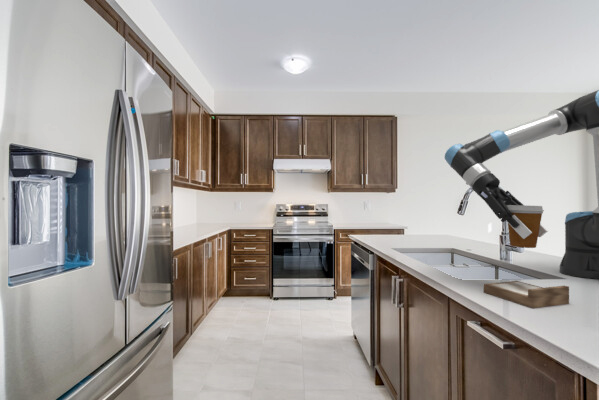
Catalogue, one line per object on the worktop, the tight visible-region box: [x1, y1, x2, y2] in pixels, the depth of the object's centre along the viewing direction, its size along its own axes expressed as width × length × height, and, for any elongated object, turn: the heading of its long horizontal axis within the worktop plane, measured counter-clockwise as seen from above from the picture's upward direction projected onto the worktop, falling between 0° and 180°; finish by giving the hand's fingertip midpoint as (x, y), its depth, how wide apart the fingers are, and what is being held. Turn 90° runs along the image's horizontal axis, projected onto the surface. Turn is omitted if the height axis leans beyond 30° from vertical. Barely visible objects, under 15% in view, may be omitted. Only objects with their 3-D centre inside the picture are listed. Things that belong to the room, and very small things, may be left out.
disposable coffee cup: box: [507, 204, 545, 249], centre depth 96 cm, size 10×10×12 cm
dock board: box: [483, 280, 570, 309], centre depth 93 cm, size 13×15×4 cm
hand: (535, 234), depth 94 cm, fingers closed on disposable coffee cup, 8 cm apart
